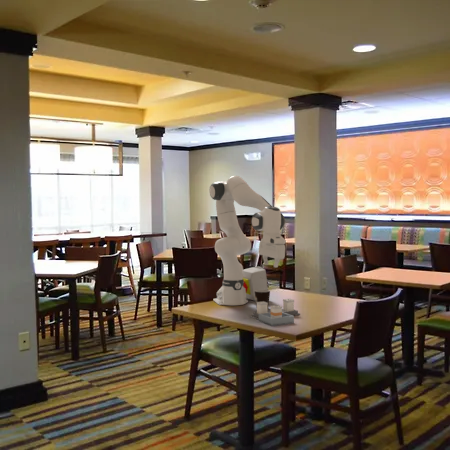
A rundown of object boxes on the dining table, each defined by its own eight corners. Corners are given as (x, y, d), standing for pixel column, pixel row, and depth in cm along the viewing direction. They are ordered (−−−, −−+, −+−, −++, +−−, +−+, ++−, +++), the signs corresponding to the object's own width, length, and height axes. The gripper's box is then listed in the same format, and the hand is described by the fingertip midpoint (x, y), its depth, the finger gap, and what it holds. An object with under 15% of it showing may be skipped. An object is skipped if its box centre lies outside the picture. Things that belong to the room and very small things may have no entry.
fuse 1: (256, 315, 273) (256, 302, 273) (263, 314, 275) (263, 301, 274) (260, 317, 269) (260, 303, 269) (267, 316, 271) (267, 302, 271)
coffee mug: (269, 310, 289) (269, 292, 288) (253, 310, 290) (253, 291, 290) (271, 306, 300) (271, 288, 300) (256, 306, 302) (256, 288, 301)
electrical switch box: (236, 301, 326) (232, 269, 324) (257, 296, 332) (253, 265, 330) (247, 305, 312) (243, 272, 310) (269, 300, 319) (265, 267, 317)
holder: (250, 316, 274) (250, 312, 273) (291, 312, 285) (291, 307, 285) (258, 319, 266) (258, 315, 266) (300, 314, 277) (300, 310, 277)
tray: (258, 320, 265) (258, 313, 264) (280, 318, 270) (280, 311, 270) (271, 326, 253) (271, 318, 253) (294, 323, 259) (294, 316, 259)
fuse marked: (270, 319, 263) (270, 305, 262) (277, 319, 264) (277, 305, 264) (274, 321, 259) (274, 307, 259) (282, 320, 261) (282, 306, 260)
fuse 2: (282, 312, 280) (282, 299, 280) (289, 311, 282) (289, 298, 282) (287, 314, 276) (287, 300, 276) (294, 313, 278) (294, 299, 278)
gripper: (256, 236, 276) (255, 263, 277) (276, 241, 258) (275, 269, 259) (266, 236, 279) (265, 262, 280) (287, 240, 261) (286, 268, 262)
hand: (270, 265), depth 269 cm, fingers open, 8 cm apart
